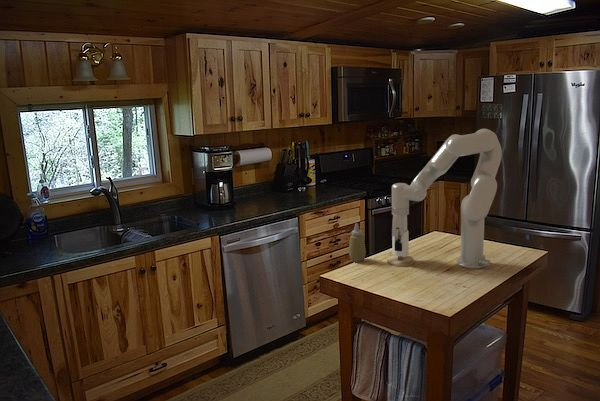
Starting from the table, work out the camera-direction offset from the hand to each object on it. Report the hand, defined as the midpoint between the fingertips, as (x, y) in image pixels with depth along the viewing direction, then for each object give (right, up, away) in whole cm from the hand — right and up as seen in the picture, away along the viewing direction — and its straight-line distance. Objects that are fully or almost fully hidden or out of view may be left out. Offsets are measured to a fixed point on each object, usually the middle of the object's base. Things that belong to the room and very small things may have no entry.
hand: (400, 248), depth 220 cm
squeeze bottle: (-19, -7, +6) cm, 21 cm away
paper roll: (0, -3, +1) cm, 3 cm away
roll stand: (0, -7, +1) cm, 7 cm away
